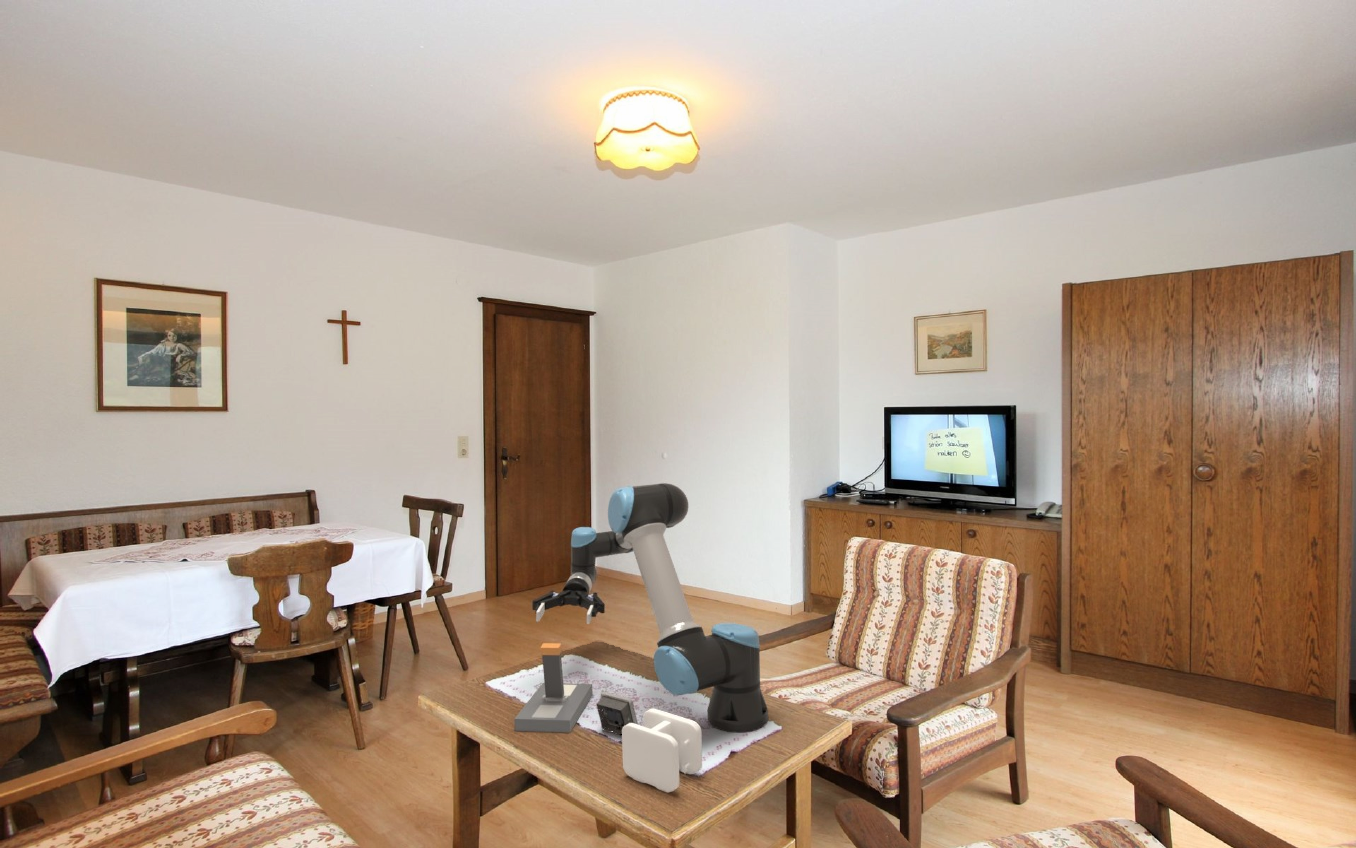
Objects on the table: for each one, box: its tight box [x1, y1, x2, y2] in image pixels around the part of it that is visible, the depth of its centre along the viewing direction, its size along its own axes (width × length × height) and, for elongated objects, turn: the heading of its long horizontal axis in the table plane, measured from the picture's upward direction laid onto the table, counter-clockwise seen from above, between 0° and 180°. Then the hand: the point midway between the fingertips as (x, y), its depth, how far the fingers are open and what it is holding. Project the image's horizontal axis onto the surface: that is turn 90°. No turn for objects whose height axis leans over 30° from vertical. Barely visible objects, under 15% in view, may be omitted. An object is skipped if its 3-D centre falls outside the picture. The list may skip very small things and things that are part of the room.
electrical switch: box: [595, 691, 639, 735], centre depth 170 cm, size 9×5×9 cm, turn 57°
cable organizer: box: [621, 708, 703, 794], centre depth 149 cm, size 15×11×12 cm
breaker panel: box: [513, 682, 594, 734], centre depth 182 cm, size 22×14×4 cm, turn 173°
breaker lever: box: [539, 642, 564, 698], centre depth 181 cm, size 2×5×14 cm, turn 83°
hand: (562, 618), depth 188 cm, fingers open, 13 cm apart
